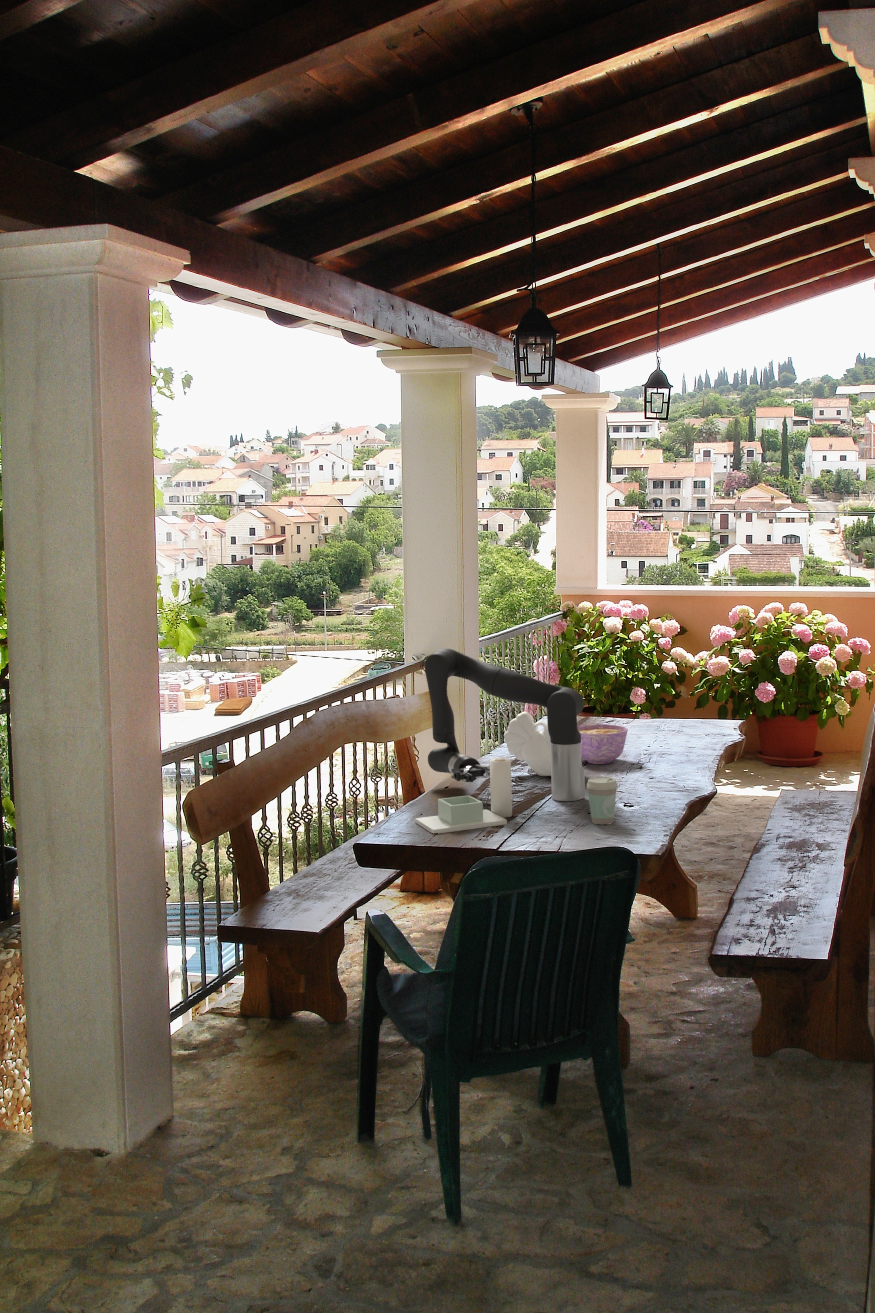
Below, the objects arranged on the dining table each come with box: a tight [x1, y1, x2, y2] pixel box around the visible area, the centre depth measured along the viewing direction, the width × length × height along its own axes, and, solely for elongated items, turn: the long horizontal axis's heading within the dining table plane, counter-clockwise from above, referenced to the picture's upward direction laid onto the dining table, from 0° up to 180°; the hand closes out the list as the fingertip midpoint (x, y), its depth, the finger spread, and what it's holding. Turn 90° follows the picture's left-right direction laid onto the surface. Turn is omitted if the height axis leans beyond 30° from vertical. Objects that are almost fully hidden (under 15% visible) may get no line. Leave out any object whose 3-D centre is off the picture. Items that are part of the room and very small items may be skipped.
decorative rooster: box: [503, 707, 579, 777], centre depth 373 cm, size 25×16×25 cm, turn 59°
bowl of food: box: [577, 723, 629, 765], centre depth 390 cm, size 20×20×12 cm
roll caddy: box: [414, 795, 508, 835], centre depth 312 cm, size 22×14×6 cm, turn 112°
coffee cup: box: [585, 776, 618, 825], centre depth 308 cm, size 8×8×12 cm
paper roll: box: [489, 757, 513, 819], centre depth 319 cm, size 6×6×16 cm
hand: (485, 777), depth 329 cm, fingers open, 8 cm apart
